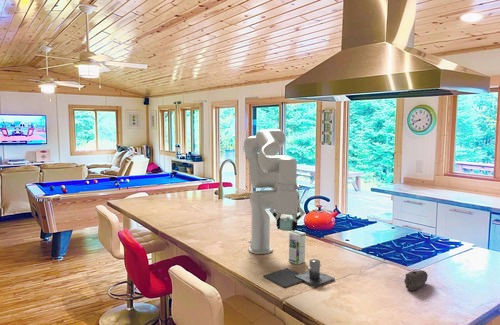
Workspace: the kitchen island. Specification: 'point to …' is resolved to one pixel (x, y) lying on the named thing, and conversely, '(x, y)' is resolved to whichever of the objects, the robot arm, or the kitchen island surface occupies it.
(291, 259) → the syrup box
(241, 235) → the kitchen island surface
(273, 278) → the pad
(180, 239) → the kitchen island surface
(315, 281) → the dark grey square-based fixture
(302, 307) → the kitchen island surface
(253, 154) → the robot arm
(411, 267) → the kitchen island surface
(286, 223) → the cap
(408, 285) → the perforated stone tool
